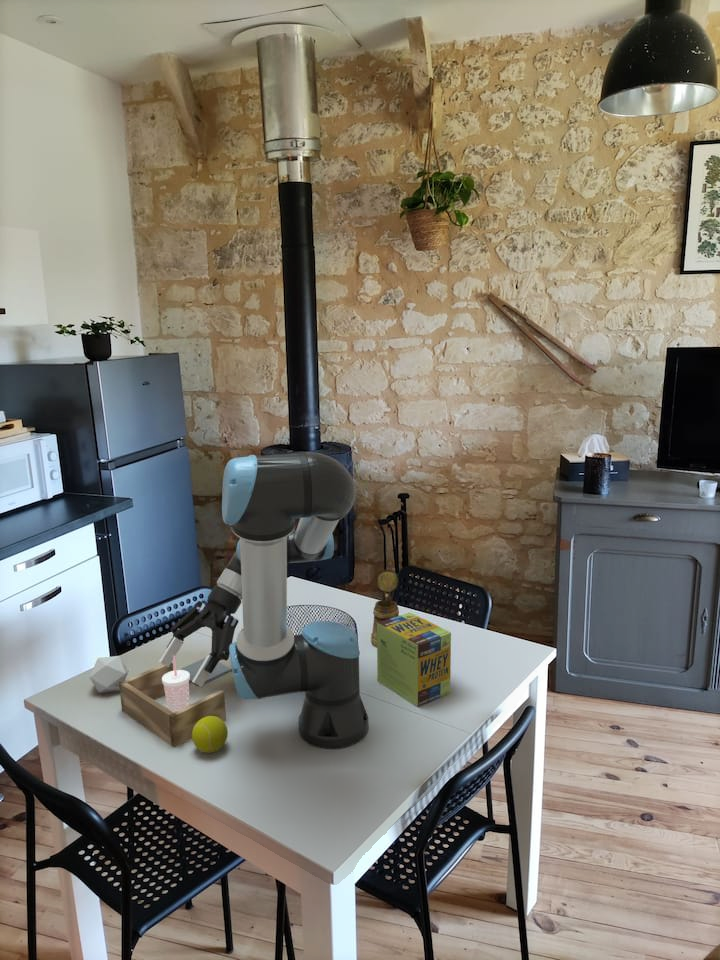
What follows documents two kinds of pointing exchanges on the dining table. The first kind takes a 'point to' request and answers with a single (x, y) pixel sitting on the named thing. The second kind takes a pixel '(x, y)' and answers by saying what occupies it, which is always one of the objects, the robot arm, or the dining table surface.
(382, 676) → the protein box
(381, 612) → the gold trophy
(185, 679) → the beverage cup
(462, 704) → the dining table surface
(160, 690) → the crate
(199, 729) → the tennis ball
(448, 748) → the dining table surface
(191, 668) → the coaster
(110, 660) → the die
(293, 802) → the dining table surface
